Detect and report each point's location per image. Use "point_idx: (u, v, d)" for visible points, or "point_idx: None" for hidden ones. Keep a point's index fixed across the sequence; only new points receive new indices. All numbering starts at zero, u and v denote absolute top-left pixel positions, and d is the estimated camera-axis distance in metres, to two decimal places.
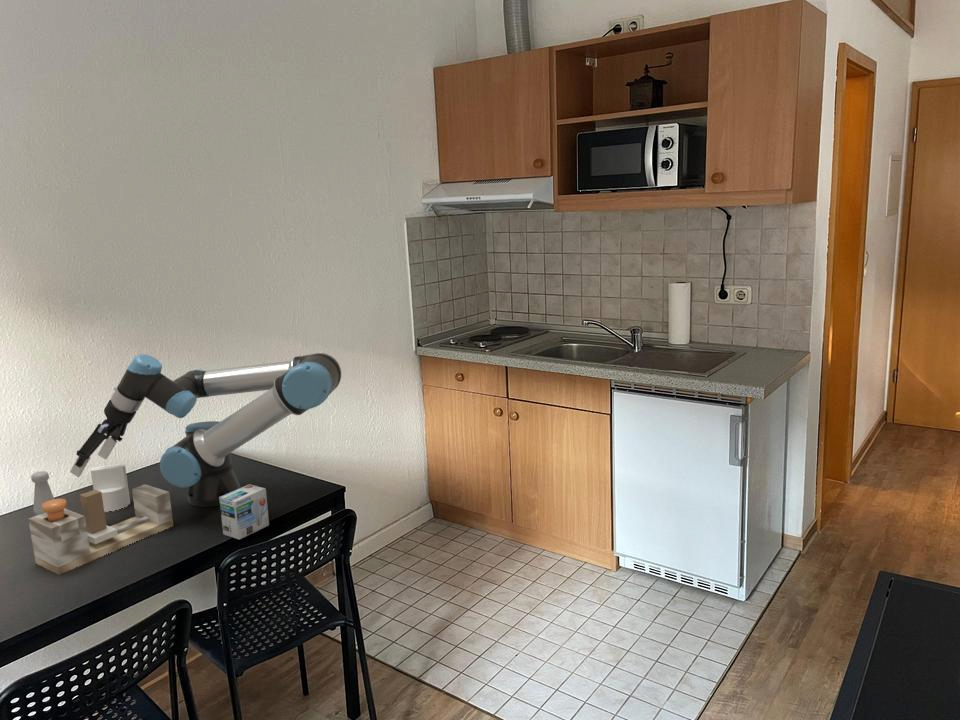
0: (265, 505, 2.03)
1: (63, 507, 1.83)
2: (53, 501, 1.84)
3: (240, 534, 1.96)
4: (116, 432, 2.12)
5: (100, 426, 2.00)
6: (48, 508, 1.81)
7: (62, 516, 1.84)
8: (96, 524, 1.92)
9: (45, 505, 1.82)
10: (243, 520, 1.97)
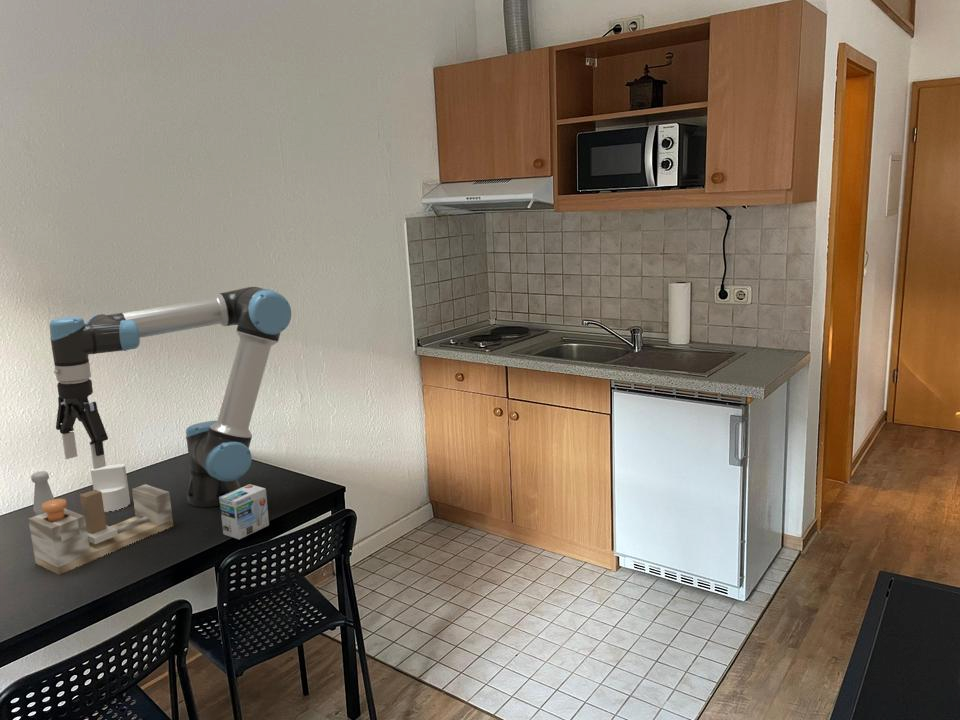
0: (265, 505, 2.03)
1: (63, 507, 1.83)
2: (53, 501, 1.84)
3: (240, 534, 1.96)
4: (74, 418, 1.90)
5: (89, 404, 1.82)
6: (48, 508, 1.81)
7: (62, 516, 1.84)
8: (96, 524, 1.92)
9: (45, 505, 1.82)
10: (243, 520, 1.97)
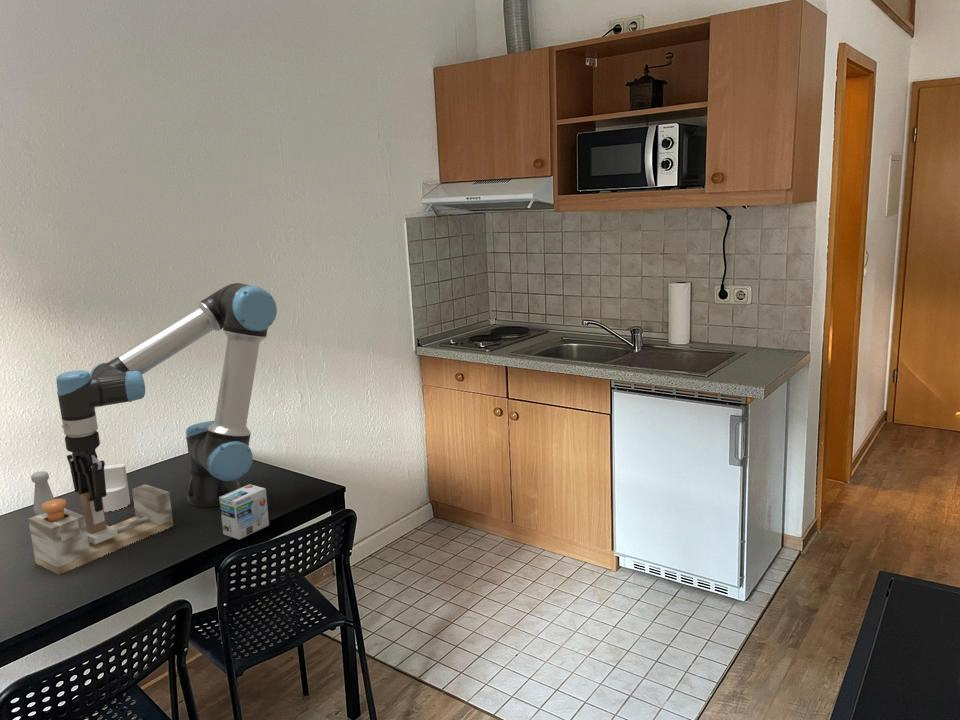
0: (265, 505, 2.03)
1: (63, 507, 1.83)
2: (53, 501, 1.84)
3: (240, 534, 1.96)
4: None
5: (98, 465, 1.85)
6: (48, 508, 1.81)
7: (62, 516, 1.84)
8: (96, 524, 1.92)
9: (45, 505, 1.82)
10: (243, 520, 1.97)
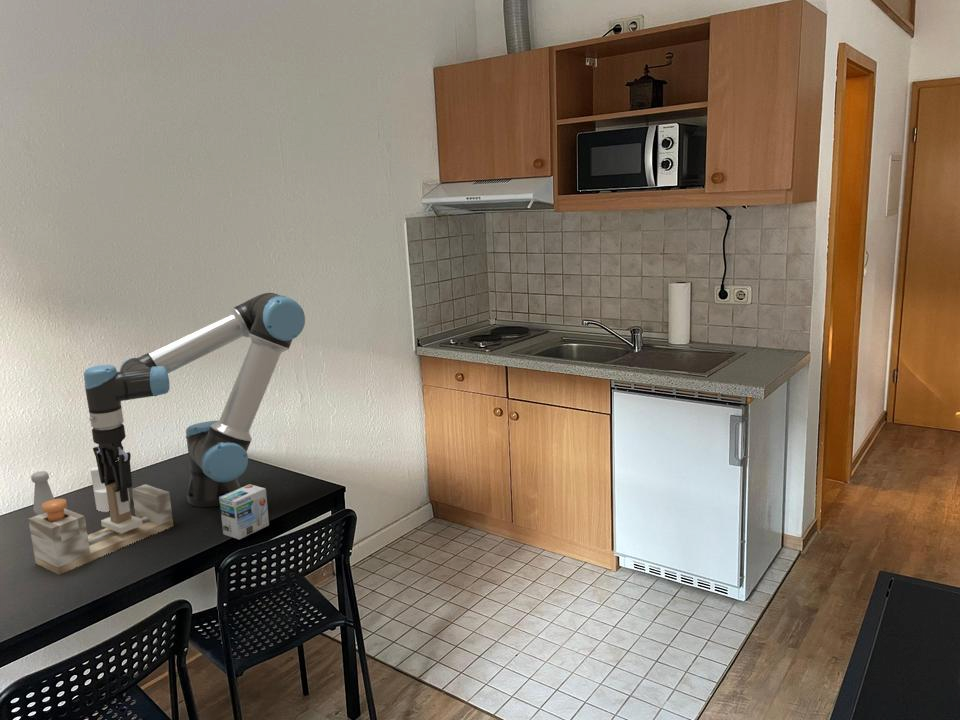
0: (265, 505, 2.03)
1: (63, 507, 1.83)
2: (53, 501, 1.84)
3: (240, 534, 1.96)
4: None
5: (124, 456, 1.91)
6: (48, 508, 1.81)
7: (62, 516, 1.84)
8: (121, 514, 1.97)
9: (45, 505, 1.82)
10: (243, 520, 1.97)
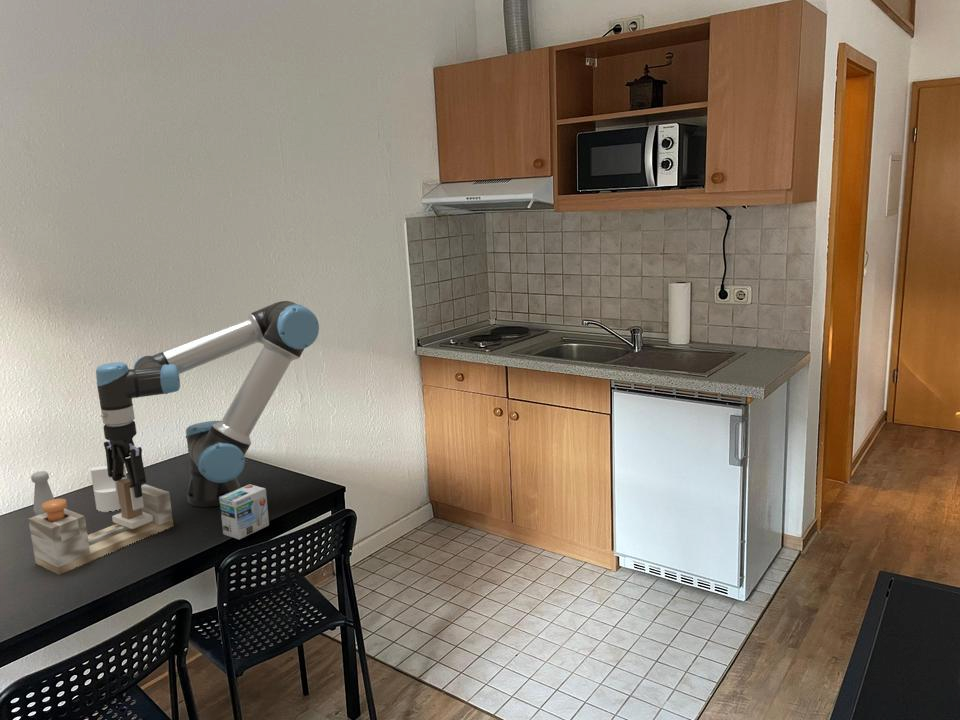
0: (265, 505, 2.03)
1: (63, 507, 1.83)
2: (53, 501, 1.84)
3: (240, 534, 1.96)
4: None
5: (135, 451, 1.93)
6: (48, 508, 1.81)
7: (62, 516, 1.84)
8: (132, 510, 2.00)
9: (45, 505, 1.82)
10: (243, 520, 1.97)
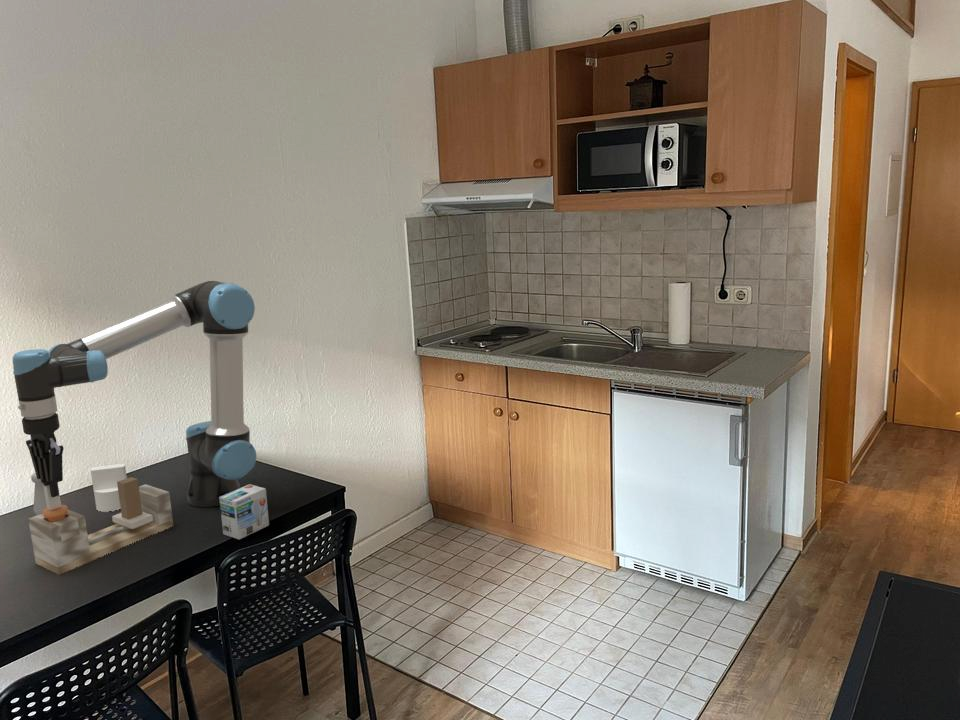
0: (265, 505, 2.03)
1: (64, 513, 1.83)
2: None
3: (240, 534, 1.96)
4: None
5: (56, 450, 1.77)
6: (49, 514, 1.81)
7: None
8: (132, 510, 2.00)
9: (47, 511, 1.82)
10: (243, 520, 1.97)
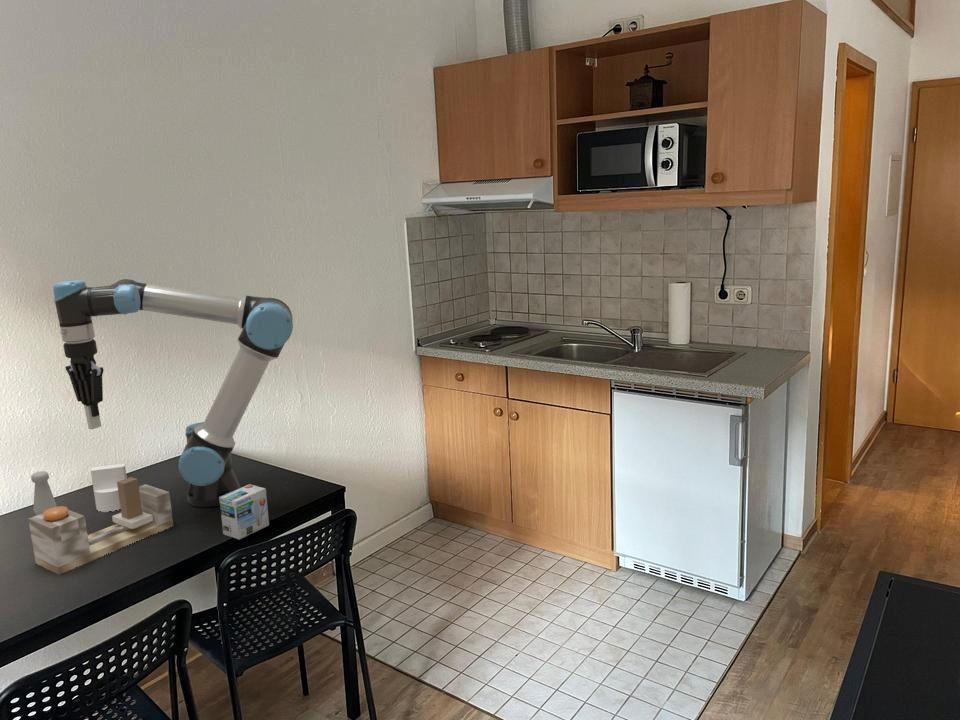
0: (265, 505, 2.03)
1: (64, 515, 1.84)
2: (54, 509, 1.85)
3: (240, 534, 1.96)
4: None
5: (97, 371, 1.93)
6: (50, 515, 1.82)
7: None
8: (132, 510, 2.00)
9: (47, 513, 1.82)
10: (243, 520, 1.97)
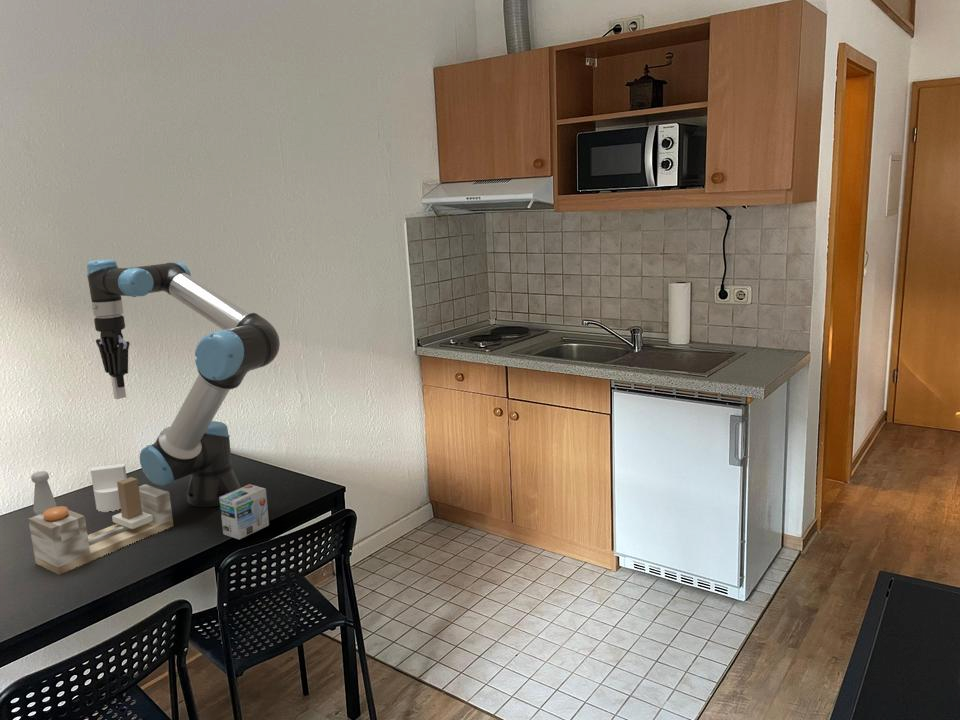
0: (265, 505, 2.03)
1: (64, 515, 1.84)
2: (54, 509, 1.85)
3: (240, 534, 1.96)
4: None
5: (124, 344, 2.07)
6: (50, 515, 1.82)
7: None
8: (132, 510, 2.00)
9: (47, 513, 1.82)
10: (243, 520, 1.97)
